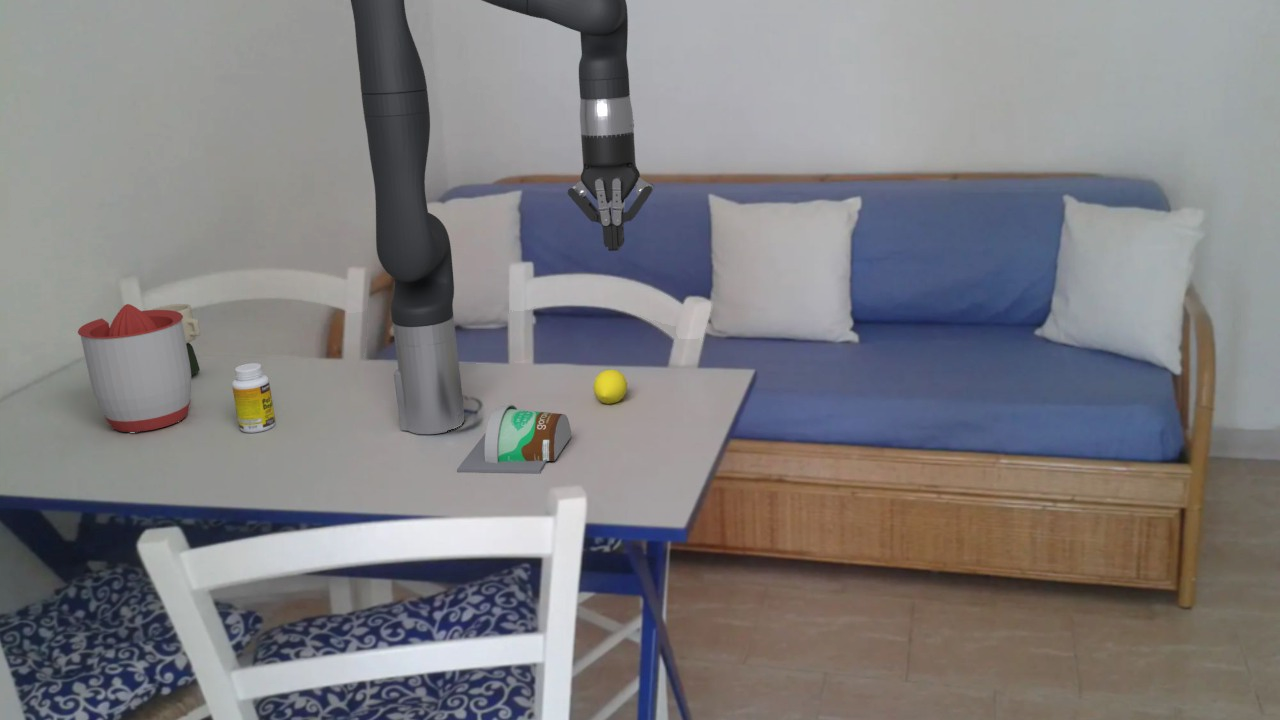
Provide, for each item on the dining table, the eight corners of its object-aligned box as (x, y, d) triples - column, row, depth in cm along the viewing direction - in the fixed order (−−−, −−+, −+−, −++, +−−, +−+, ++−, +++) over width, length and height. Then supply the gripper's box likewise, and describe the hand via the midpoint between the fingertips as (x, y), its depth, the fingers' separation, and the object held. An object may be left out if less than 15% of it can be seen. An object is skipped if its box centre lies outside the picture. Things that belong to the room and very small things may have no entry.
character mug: (145, 381, 208) (131, 313, 204) (170, 369, 215) (157, 302, 211) (195, 384, 205) (182, 314, 201) (219, 371, 212) (207, 304, 208)
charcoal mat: (457, 471, 160) (456, 469, 160) (490, 429, 175) (489, 427, 175) (539, 473, 158) (539, 470, 158) (566, 430, 173) (565, 428, 173)
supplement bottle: (270, 432, 179) (260, 371, 176) (235, 435, 179) (224, 373, 176) (280, 420, 184) (270, 360, 181) (245, 422, 184) (235, 362, 181)
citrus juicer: (182, 395, 199) (161, 285, 193) (213, 421, 186) (191, 303, 179) (87, 418, 190) (62, 303, 184) (111, 447, 177) (85, 323, 171)
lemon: (622, 412, 181) (618, 381, 178) (589, 410, 182) (586, 380, 180) (633, 391, 187) (630, 362, 184) (602, 390, 188) (598, 361, 186)
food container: (548, 423, 157) (479, 422, 159) (551, 464, 159) (483, 463, 161) (570, 393, 169) (506, 392, 171) (573, 432, 171) (510, 430, 173)
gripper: (555, 135, 159) (564, 256, 164) (648, 131, 157) (655, 254, 162) (567, 128, 166) (576, 245, 171) (657, 125, 164) (663, 243, 169)
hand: (614, 249), depth 167 cm, fingers closed
